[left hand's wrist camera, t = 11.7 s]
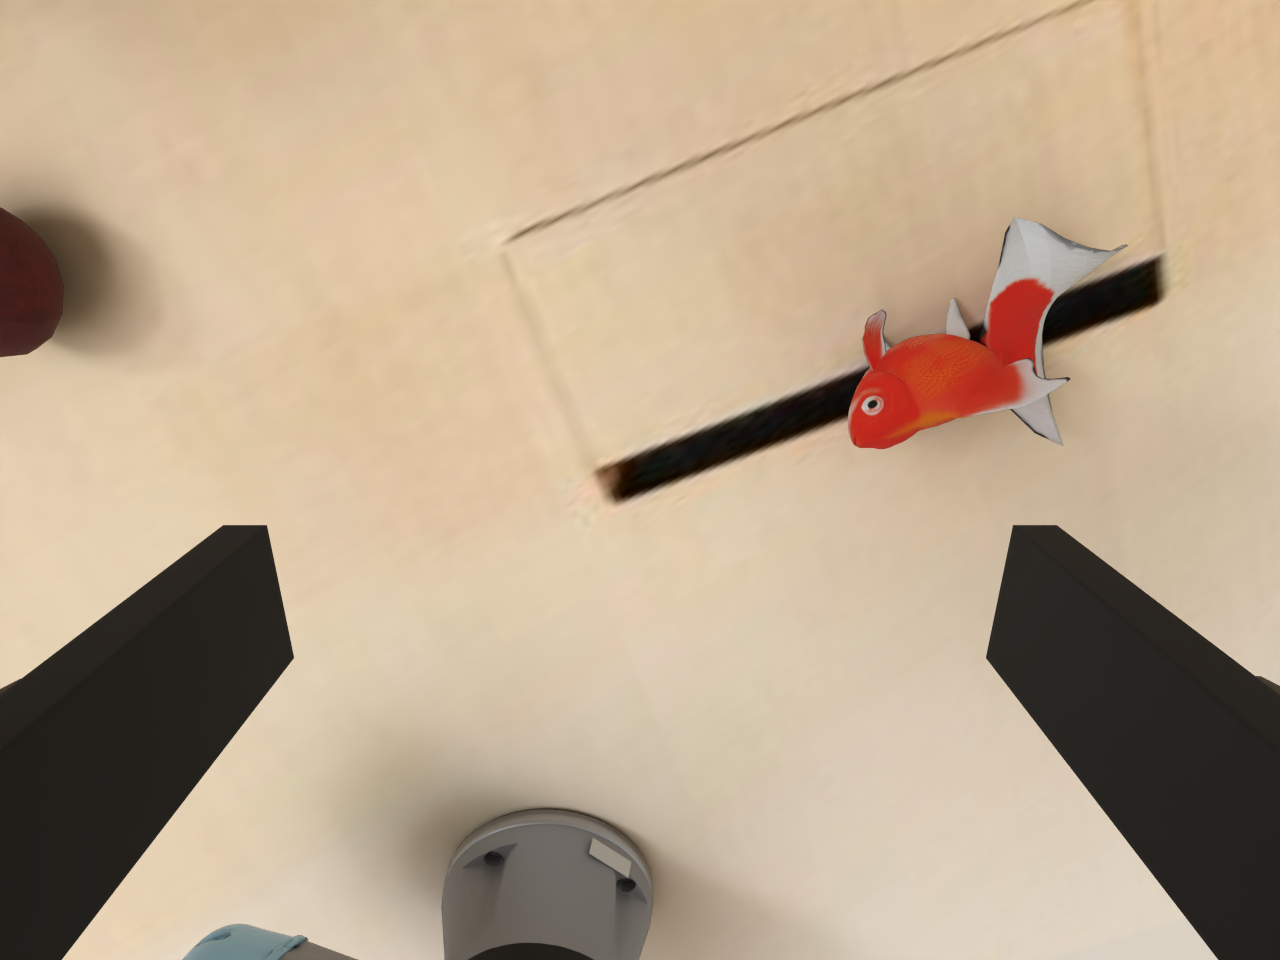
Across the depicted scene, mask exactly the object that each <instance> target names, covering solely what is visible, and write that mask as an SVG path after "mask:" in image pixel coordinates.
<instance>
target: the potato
mask: <svg viewBox="0 0 1280 960" xmlns="http://www.w3.org/2000/svg"><path fill="white" fill-rule="evenodd" d="M63 289H64V286H63V283H62V279H61V276H60V273H59V269H58V266H57V263H56V259H55V258H54V256H53V255H52V253H51V252H50V251H49V249H48V248H47V246H46V245H45V243H44V242H43V241H42V239H41V238H40V237H39V236H38V235H37V234H36V233H35V232H34V231H33V230H32V229H30V228H29V227H28V226H27V225H26V224H25V223H24V222H23V221H21V220H20V219H19V218H17V217H15V216H14V215H12V214H10V213H9V212H7V211H6V210H4V209H2V208H0V357H6V356H15V355H24V354H28V353H30V352H32V351H33V350H35V349H37V348H38V347H39V346H41V345H42V344H43V343H45V342H46V341H47V340H48V339H50V338H51V337H52V335H53V333H54V331H55V329H56V326H57V324H58V322H59V320H60V317H61V315H62V310H63Z"/></svg>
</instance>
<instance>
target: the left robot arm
mask: <svg viewBox="0 0 1280 960" xmlns="http://www.w3.org/2000/svg"><path fill="white" fill-rule="evenodd" d="M293 658H294V655H293V651H292V646H291V641H290V636H289V631H288V626H287V621H286V616H285V612H284V607H283V602H282V597H281V592H280V587H279V582H278V577H277V573H276V568H275V563H274V558H273V553H272V548H271V543H270V538H269V534H268V529H267V525H223V526H222V527H220V528H219V529H218V530H216V531H215V532H214V533H213V534H211V535H210V536H209V537H207V538H206V539H205V540H203V541H202V542H201V543H199V544H198V545H197V546H195V547H194V548H193V549H191V550H190V551H189V552H188V553H186V554H185V555H184V556H182V557H181V558H180V559H178V560H177V561H176V562H174V563H173V564H172V565H170V566H169V567H168V568H167V569H165V570H164V571H163V572H161V573H160V574H159V575H157V576H156V577H155V578H153V579H152V580H151V581H149V582H148V583H147V584H145V585H144V586H143V587H142V588H140V589H139V590H138V591H136V592H135V593H134V594H132V595H131V596H130V597H128V598H127V599H126V600H124V601H123V602H122V603H120V604H119V605H118V606H117V607H115V608H114V609H113V610H111V611H110V612H109V613H107V614H106V615H105V616H103V617H102V618H101V619H99V620H98V621H97V622H96V623H94V624H93V625H92V626H90V627H89V628H88V629H86V630H85V631H84V632H82V633H81V634H80V635H78V636H77V637H76V638H74V639H73V640H72V641H71V642H69V643H68V644H67V645H65V646H64V647H63V648H61V649H60V650H59V651H57V652H56V653H55V654H53V655H52V656H51V657H50V658H48V659H47V660H46V661H44V662H43V663H42V664H40V665H39V666H38V667H36V668H35V669H34V670H32V671H31V672H30V673H28V674H27V675H26V676H25V677H23V678H22V679H19V680H17V681H15V682H13V683H11V684H9V685H7V686H5V687H3V688H1V689H0V960H62V959H63V957H64V956H65V955H66V953H67V952H68V951H69V949H70V948H71V947H72V946H73V944H74V943H75V942H76V940H77V939H78V938H79V937H80V935H81V934H82V933H83V931H84V930H85V929H86V927H87V926H88V925H89V924H90V922H91V921H92V920H93V918H94V917H95V916H96V914H97V913H98V912H99V911H100V909H101V908H102V907H103V905H104V904H105V903H106V901H107V900H108V899H109V898H110V896H111V895H112V894H113V892H114V891H115V890H116V888H117V887H118V886H119V885H120V883H121V882H122V881H123V879H124V878H125V877H126V875H127V874H128V873H129V872H130V870H131V869H132V868H133V866H134V865H135V864H136V862H137V861H138V860H139V859H140V857H141V856H142V855H143V853H144V852H145V851H146V849H147V848H148V847H149V846H150V844H151V843H152V842H153V840H154V839H155V838H156V836H157V835H158V834H159V833H160V831H161V830H162V829H163V827H164V826H165V825H166V823H167V822H168V821H169V820H170V818H171V817H172V816H173V814H174V813H175V812H176V810H177V809H178V808H179V807H180V805H181V804H182V803H183V801H184V800H185V799H186V797H187V796H188V795H189V794H190V792H191V791H192V790H193V788H194V787H195V786H196V785H197V783H198V782H199V781H200V779H201V778H202V777H203V775H204V774H205V773H206V772H207V770H208V769H209V768H210V766H211V765H212V764H213V762H214V761H215V760H216V759H217V757H218V756H219V755H220V753H221V752H222V751H223V749H224V748H225V747H226V746H227V744H228V743H229V742H230V740H231V739H232V738H233V736H234V735H235V734H236V733H237V731H238V730H239V729H240V727H241V726H242V725H243V723H244V722H245V721H246V720H247V718H248V717H249V716H250V714H251V713H252V712H253V710H254V709H255V708H256V707H257V705H258V704H259V703H260V701H261V700H262V699H263V697H264V696H265V695H266V694H267V692H268V691H269V690H270V688H271V687H272V686H273V684H274V683H275V682H276V681H277V679H278V678H279V677H280V675H281V674H282V673H283V671H284V670H285V669H286V668H287V666H288V665H289V664H290V662H291V661H292V660H293ZM986 658H987V660H988V661H989V662H990V664H991V665H992V666H993V668H994V669H995V670H996V671H997V673H998V674H999V675H1000V677H1001V678H1002V679H1003V681H1004V682H1005V683H1006V684H1007V686H1008V687H1009V688H1010V690H1011V691H1012V692H1013V694H1014V695H1015V696H1016V697H1017V699H1018V700H1019V701H1020V703H1021V704H1022V705H1023V707H1024V708H1025V709H1026V710H1027V712H1028V713H1029V714H1030V716H1031V717H1032V718H1033V720H1034V721H1035V722H1036V723H1037V725H1038V726H1039V727H1040V729H1041V730H1042V731H1043V733H1044V734H1045V735H1046V736H1047V738H1048V739H1049V740H1050V742H1051V743H1052V744H1053V746H1054V747H1055V748H1056V749H1057V751H1058V752H1059V753H1060V755H1061V756H1062V757H1063V759H1064V760H1065V761H1066V762H1067V764H1068V765H1069V766H1070V768H1071V769H1072V770H1073V772H1074V773H1075V774H1076V775H1077V777H1078V778H1079V779H1080V781H1081V782H1082V783H1083V785H1084V786H1085V787H1086V788H1087V790H1088V791H1089V792H1090V794H1091V795H1092V796H1093V797H1094V799H1095V800H1096V801H1097V803H1098V804H1099V805H1100V807H1101V808H1102V809H1103V810H1104V812H1105V813H1106V814H1107V816H1108V817H1109V818H1110V820H1111V821H1112V822H1113V823H1114V825H1115V826H1116V827H1117V829H1118V830H1119V831H1120V833H1121V834H1122V835H1123V836H1124V838H1125V839H1126V840H1127V842H1128V843H1129V844H1130V846H1131V847H1132V848H1133V849H1134V851H1135V852H1136V853H1137V855H1138V856H1139V857H1140V859H1141V860H1142V861H1143V862H1144V864H1145V865H1146V866H1147V868H1148V869H1149V870H1150V872H1151V873H1152V874H1153V875H1154V877H1155V878H1156V879H1157V881H1158V882H1159V883H1160V885H1161V886H1162V887H1163V888H1164V890H1165V891H1166V892H1167V894H1168V895H1169V896H1170V898H1171V899H1172V900H1173V901H1174V903H1175V904H1176V905H1177V907H1178V908H1179V909H1180V911H1181V912H1182V913H1183V914H1184V916H1185V917H1186V918H1187V920H1188V921H1189V922H1190V924H1191V925H1192V926H1193V927H1194V929H1195V930H1196V931H1197V933H1198V934H1199V935H1200V936H1201V938H1202V939H1203V940H1204V942H1205V943H1206V944H1207V946H1208V947H1209V948H1210V949H1211V951H1212V952H1213V953H1214V955H1215V956H1216V957H1217V958H1218V960H1280V686H1279V685H1277V684H1275V683H1273V682H1271V681H1269V680H1267V679H1265V678H1263V677H1261V676H1254V675H1253V674H1252V673H1250V672H1249V671H1248V670H1246V669H1245V668H1244V667H1242V666H1241V665H1240V664H1238V663H1237V662H1236V661H1234V660H1233V659H1232V658H1230V657H1229V656H1228V655H1227V654H1225V653H1224V652H1223V651H1221V650H1220V649H1219V648H1217V647H1216V646H1215V645H1213V644H1212V643H1211V642H1209V641H1208V640H1207V639H1206V638H1204V637H1203V636H1202V635H1200V634H1199V633H1198V632H1196V631H1195V630H1194V629H1192V628H1191V627H1190V626H1188V625H1187V624H1186V623H1184V622H1183V621H1182V620H1181V619H1179V618H1178V617H1177V616H1175V615H1174V614H1173V613H1171V612H1170V611H1169V610H1167V609H1166V608H1165V607H1163V606H1162V605H1161V604H1160V603H1158V602H1157V601H1156V600H1154V599H1153V598H1152V597H1150V596H1149V595H1148V594H1146V593H1145V592H1144V591H1142V590H1141V589H1140V588H1138V587H1137V586H1136V585H1135V584H1133V583H1132V582H1131V581H1129V580H1128V579H1127V578H1125V577H1124V576H1123V575H1121V574H1120V573H1119V572H1117V571H1116V570H1115V569H1113V568H1112V567H1111V566H1110V565H1108V564H1107V563H1106V562H1104V561H1103V560H1102V559H1100V558H1099V557H1098V556H1096V555H1095V554H1094V553H1092V552H1091V551H1090V550H1089V549H1087V548H1086V547H1085V546H1083V545H1082V544H1081V543H1079V542H1078V541H1077V540H1075V539H1074V538H1073V537H1071V536H1070V535H1069V534H1067V533H1066V532H1065V531H1064V530H1062V529H1061V528H1060V527H1058V526H1057V525H1013V529H1012V534H1011V538H1010V543H1009V548H1008V553H1007V558H1006V563H1005V568H1004V573H1003V577H1002V582H1001V587H1000V592H999V597H998V602H997V607H996V612H995V616H994V621H993V626H992V631H991V636H990V641H989V646H988V651H987V655H986ZM652 902H653V897H652V878H651V874H650V870H649V868H648V865H647V863H646V861H645V859H644V857H643V855H642V854H641V853H640V851H639V850H638V848H637V847H636V846H635V845H634V844H633V843H632V842H631V841H630V840H629V839H628V838H627V837H626V836H624V835H623V834H622V833H621V832H619V831H618V830H616V829H615V828H613V827H611V826H610V825H608V824H606V823H604V822H602V821H599V820H597V819H595V818H592V817H589V816H586V815H583V814H579V813H575V812H569V811H563V810H549V809H540V810H528V811H521V812H516V813H512V814H508V815H505V816H502V817H499V818H497V819H495V820H492V821H490V822H488V823H486V824H484V825H483V826H481V827H480V828H478V829H477V830H475V831H474V832H473V833H471V834H470V835H469V836H468V837H467V838H466V839H465V840H464V841H463V842H462V843H461V845H460V846H459V847H458V849H457V850H456V852H455V854H454V855H453V858H452V860H451V862H450V866H449V869H448V873H447V876H446V879H445V883H444V889H443V896H442V923H443V939H444V955H445V960H639V957H640V954H641V951H642V948H643V945H644V942H645V939H646V936H647V933H648V930H649V926H650V921H651V913H652ZM182 960H357V959H354V958H351V957H349V956H346V955H343V954H341V953H338V952H335V951H332V950H330V949H327V948H324V947H322V946H319V945H316V944H313V943H311V942H308V939H307V937H304V936H302V935H297V936H294V937H291V936H287V935H284V934H280V933H276V932H272V931H268V930H264V929H261V928H257V927H254V926H251V925H247V924H233V925H228V926H225V927H222V928H219V929H217V930H216V931H214V932H212V933H211V934H209V935H208V936H206V937H205V938H203V939H202V940H201V941H200V942H199V943H198V944H197V945H196V946H195V947H194V948H193V949H192V950H191V951H190V952H189V953H188V954H187V955H186V956H185V957H184V958H183V959H182Z"/></svg>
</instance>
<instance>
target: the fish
mask: <svg viewBox="0 0 1280 960" xmlns="http://www.w3.org/2000/svg"><path fill="white" fill-rule="evenodd" d="M1127 246H1128V245H1121V246H1120V247H1118V248H1116V249H1114V250H1112V251H1108V250H1101V249H1095V248H1089V247H1086V246H1084V245H1081V244H1078V243H1076V242H1073V241H1070V240H1068V239H1065V238H1063V237H1062V236H1060V235H1058V234H1057V233H1055V232H1054V231H1052V230H1050V229H1049V228H1047V227H1046V226H1044V225H1042V224H1039V223H1036V222H1032V221H1029V220H1025V219H1021V218H1018V217H1014V219H1013V221H1012V222H1011V224H1010V226H1009V227H1008V229H1007V231H1006V232H1005V237H1004V242H1003V247H1002V252H1001V258H1000V263H999V266H998V270H997V273H996V276H995V280H994V283H993V286H992V290H991V294H990V298H989V302H988V305H987V309H986V313H985V317H984V321H983V325H982V330H981V333H980V341H981V344H980V343H978V342H975V341H972V340H970V334H969V331H968V328H967V326H966V324H965V322H964V320H963V318H962V316H961V313H960V311H959V308H958V305H957V302H956V300H955V299H951V302H950V307H949V311H948V315H947V321H946V334H932V335H922V336H916V337H912V338H909V339H907V340H904V341H902V342H901V343H899V344H897V345H895V346H893V347H891V346H890V345H889V344H888V343H887V342H886V340H885V339H884V335H883V330H884V324H885V320H886V312H885V311H883V310H880V311H879V312H877V313H875V314H873V315H872V316H870V317H869V318H868V320H867V322H866V325H865V332H864V336H863V339H862V340H863V347H864V353H865V356H866V359H867V361H868V363H869V366H870V368H869V370H868V371H867V372H866V373H865V375H864V377H863V378H862V380H861V381H860V383H859V385H858V386H857V389H856V391H855V394H854V396H853V399H852V402H851V405H850V409H849V415H848V429H849V434H850V438H851V440H852V442H853V444H854V445H855V446H857V447H859V448H876V449H886V448H889V447H892V446H894V445H896V444H899V443H901V442H903V441H905V440H907V439H908V438H910V437H911V436H913V435H914V434H915V433H916V432H918V431H920V430H923V429H926V428H930V427H934V426H938V425H941V424H944V423H946V422H949V421H951V420H953V419H956V418H963V417H969V416H974V415H979V414H984V413H990V412H995V411H1001V410H1007V409H1011V410H1012V411H1013V412H1014V413H1015V414H1016V415H1017V416H1018V417H1019V418H1020V419H1021V420H1022V421H1023V422H1024V423H1025V424H1026V425H1027V426H1028V427H1029V428H1030V429H1031V430H1032V431H1033V432H1034V433H1036V434H1038V435H1040V436H1042V437H1045V438H1047V439H1049V440H1051V441H1053V442H1055V443H1058V444H1060V445H1062V446H1063V444H1062V441H1061V438H1060V435H1059V432H1058V428H1057V425H1056V422H1055V419H1054V416H1053V413H1052V409H1051V404H1050V398H1049V393H1050V392H1052V391H1053V390H1055V389H1056V388H1058V387H1060V386H1061V385H1063V384H1064V383H1066V382H1067V381H1069V380H1070V379H1071V378H1068V377H1065V378H1056V379H1046V377H1045V372H1044V365H1043V347H1042V332H1043V325H1044V321H1045V317H1046V315H1047V312H1048V310H1049V308H1050V307H1051V305H1052V303H1053V302H1054V301H1055V299H1056V298H1057V297H1058V296H1059V295H1061V294H1062V293H1063V292H1065V291H1066V290H1067V289H1068V288H1070V287H1071V286H1072V285H1074V284H1075V283H1077V282H1078V281H1079V280H1081V279H1082V278H1083V277H1085V276H1086V275H1087V274H1089V273H1090V272H1091V271H1093V270H1094V269H1095V268H1097V267H1098V266H1099V265H1101V264H1102V263H1103V262H1105V261H1106V260H1108V259H1109V258H1110V257H1112V256H1113V255H1115V254H1116V253H1117V252H1119V251H1121V250H1122V249H1124V248H1125V247H1127Z"/></svg>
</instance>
